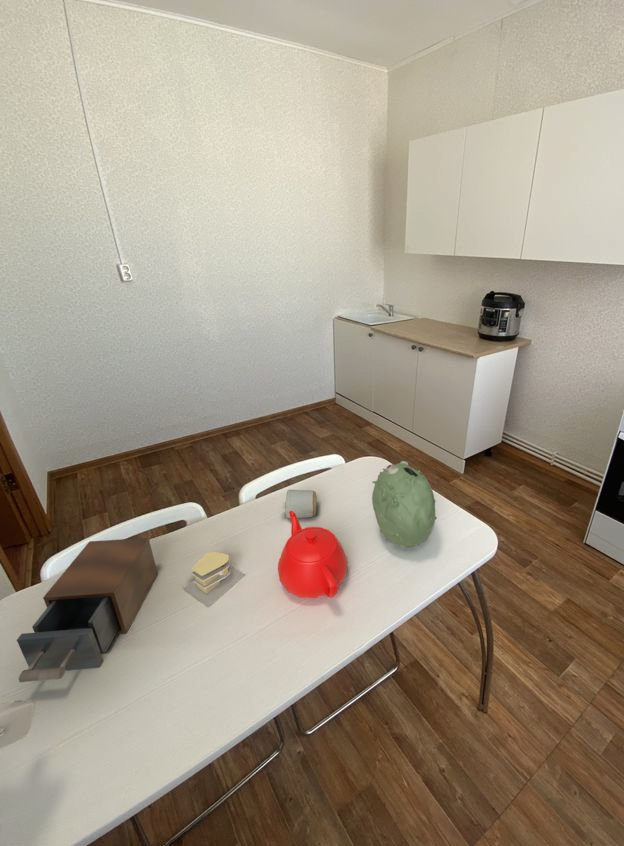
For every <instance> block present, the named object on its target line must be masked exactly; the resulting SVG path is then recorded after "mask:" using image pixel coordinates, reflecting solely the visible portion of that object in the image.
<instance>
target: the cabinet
mask: <svg viewBox="0 0 624 846" xmlns="http://www.w3.org/2000/svg"><path fill="white" fill-rule="evenodd" d="M158 575H159V573H158V569H157V566H156V562H155V558H154V553H153V550H152V546H151V541H150V538H149V537H139V538H120V539H108V540H107V539H105V540H93V541H92V540H91V541H88V542H87V544H86V545H85V546H84V547H83V548H82V549H81V551H80V552H79V553H78V555H77V556H76V557H75V558H74V559H73V561H71V563H70V564H69V566H68V567H67V568H66V569H65V571H64V572H62V574H61V575H60V577H59V578H58V579H57V580H56V581H55V582H54V584H52V586H51V587H50V588H49V589H48V591H47V592H46V593H45V595H44V596H43V597H42V598H43V601H44V604H45V607H46V608H47V607H48V606H49V605H50V604H51V602H52V601H53V600H60V599H74V598H88V597H101V596H111V598H112V602H113V605H114V608H115V611H116V614H117V617H118V621H119V624H120V627H119V629H118V631H117V633H116V634H115V635H123V634H128V632H129V631H130V628H131V626H132V624H133V622H134V621H135V619H136V617H137V615H138V613H139V611H140V609H141V607H142V606H143V604H144V602H145V600H146V598H147V596H148V594H149V593H150V590H151V589H152V586H153V584H154V582H155V581H156V580H157V577H158Z"/></svg>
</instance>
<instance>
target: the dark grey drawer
mask: <svg viewBox="0 0 624 846" xmlns="http://www.w3.org/2000/svg"><path fill="white" fill-rule="evenodd" d="M31 627H32V630H33V631H34V632H24V633H21V634H20V635H19V636H18V638H17V639H16V642H17V644H18V646H19V648H20V651H21V653H22V655H23V658H24V660H25V663H26V665H27V666H28V668H26V669H23V670H22V671H21V672H20V674H19V675H18V682H19V683H29V682H30V683H31V682H39V681H40V682H41V681H51V680H61V679H62V678H63V677H64V675H65V673H66V671H74V670H85V669H88V670H89V669H97V668H101V666H102V664H103V662H104V658H103V656H102V655H104V654H106V653H107V651H108V649H109V647H110V645H111V643H112V642H113V640H114V637H115V636H116V635H117V634H116V633H117V631H118V629H119V627H120V624H119V621H118V617H117V614H116V611H115V608H114V605H113V602H112V598H111V596H101V597H88V598H74V599H60V600H53V601H52V602H51V604H50V605H49V606H48V607H47V606H46V608H45V610H44V611H43V612H42V613H41V614H40V616H39V617H38V618H37V620H36V621H35V622H34V624H33V625H32V626H31Z"/></svg>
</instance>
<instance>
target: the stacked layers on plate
mask: <svg viewBox="0 0 624 846" xmlns="http://www.w3.org/2000/svg"><path fill="white" fill-rule="evenodd" d="M190 570H192V572H191V575H192V576H194V578H193V580H191V581H190V582H189V583H187V584H186V585H185V586H183V587H182V589H183V590H184V591H185V592H186V593H188V594H189V595H191V596H192V597H193V598H195V599H196V600H198V601H199V602H201V603H202V604H203V605H205V606H206V607H207V608H209V607H210V606H211V605H213V604H214V603H215V602H216V601H217V600H219V598H221V597H222V596H223V595H224V594H225V593H226V592H227V591H228V590H230V589H231V588H232V587H233V586H234V585H235V584H237V583H238V582H239V581H240V580H241V579H243V577H245V575H246V574H245V573H243V572H242V571H240V570H238V569H237V568H235V567H234V566H232V565H230V558H229V555H228V554H226V553H222V552H218V551H210V552H207V553H206V554H205V555H204V556H202V557H201V558H200V559H199V560H198V561H197V562H196V563H195V564H194V565H193V566H192V567H191V568H190Z"/></svg>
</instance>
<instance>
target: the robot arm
mask: <svg viewBox="0 0 624 846" xmlns="http://www.w3.org/2000/svg"><path fill="white" fill-rule="evenodd" d="M34 701H35V700H30V699H29V700H28V699H19V700H14V701H7V702H0V750H1V749H4V748H6V747H8V746H11V745H13V744H15V743H17V742H19V741H21V740H23V739H24V738H25V737H27V735H28V734H29V732H30V730H31V728H32V725H33V719H34V715H35V709H36V704H35V703H36V702H34Z"/></svg>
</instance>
